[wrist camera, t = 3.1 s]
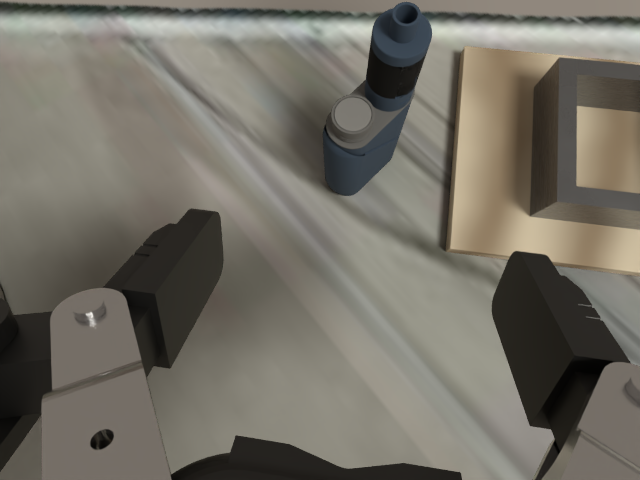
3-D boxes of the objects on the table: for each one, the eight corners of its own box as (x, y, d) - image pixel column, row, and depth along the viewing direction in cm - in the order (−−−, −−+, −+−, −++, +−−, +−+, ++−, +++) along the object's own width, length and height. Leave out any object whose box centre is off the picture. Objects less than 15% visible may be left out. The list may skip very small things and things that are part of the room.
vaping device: (401, 152, 26) (455, 13, 15) (345, 206, 26) (355, 106, 14) (373, 127, 27) (403, -27, 15) (317, 180, 26) (304, 61, 14)
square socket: (529, 216, 24) (556, 201, 21) (533, 87, 26) (559, 57, 23) (681, 234, 24) (730, 222, 21) (674, 101, 25) (719, 72, 22)
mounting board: (445, 251, 25) (450, 248, 24) (460, 55, 28) (464, 46, 27) (749, 290, 24) (767, 288, 23) (731, 82, 27) (747, 73, 26)
